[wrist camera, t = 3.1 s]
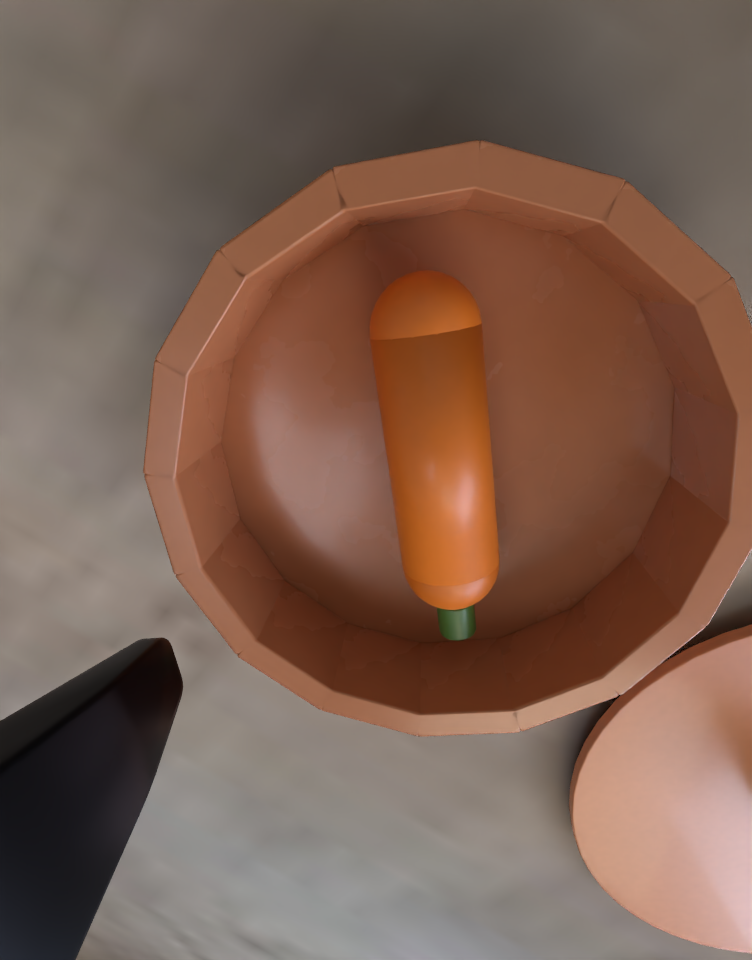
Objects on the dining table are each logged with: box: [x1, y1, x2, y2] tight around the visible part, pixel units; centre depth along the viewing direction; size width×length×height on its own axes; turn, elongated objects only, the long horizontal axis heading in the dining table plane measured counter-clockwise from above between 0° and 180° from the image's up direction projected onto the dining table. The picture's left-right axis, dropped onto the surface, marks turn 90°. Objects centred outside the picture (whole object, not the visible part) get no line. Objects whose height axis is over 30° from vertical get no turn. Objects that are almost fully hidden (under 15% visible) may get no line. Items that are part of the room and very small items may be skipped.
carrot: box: [369, 270, 500, 641], centre depth 16 cm, size 11×3×3 cm, turn 8°
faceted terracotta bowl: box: [143, 140, 752, 736], centre depth 16 cm, size 16×16×4 cm
